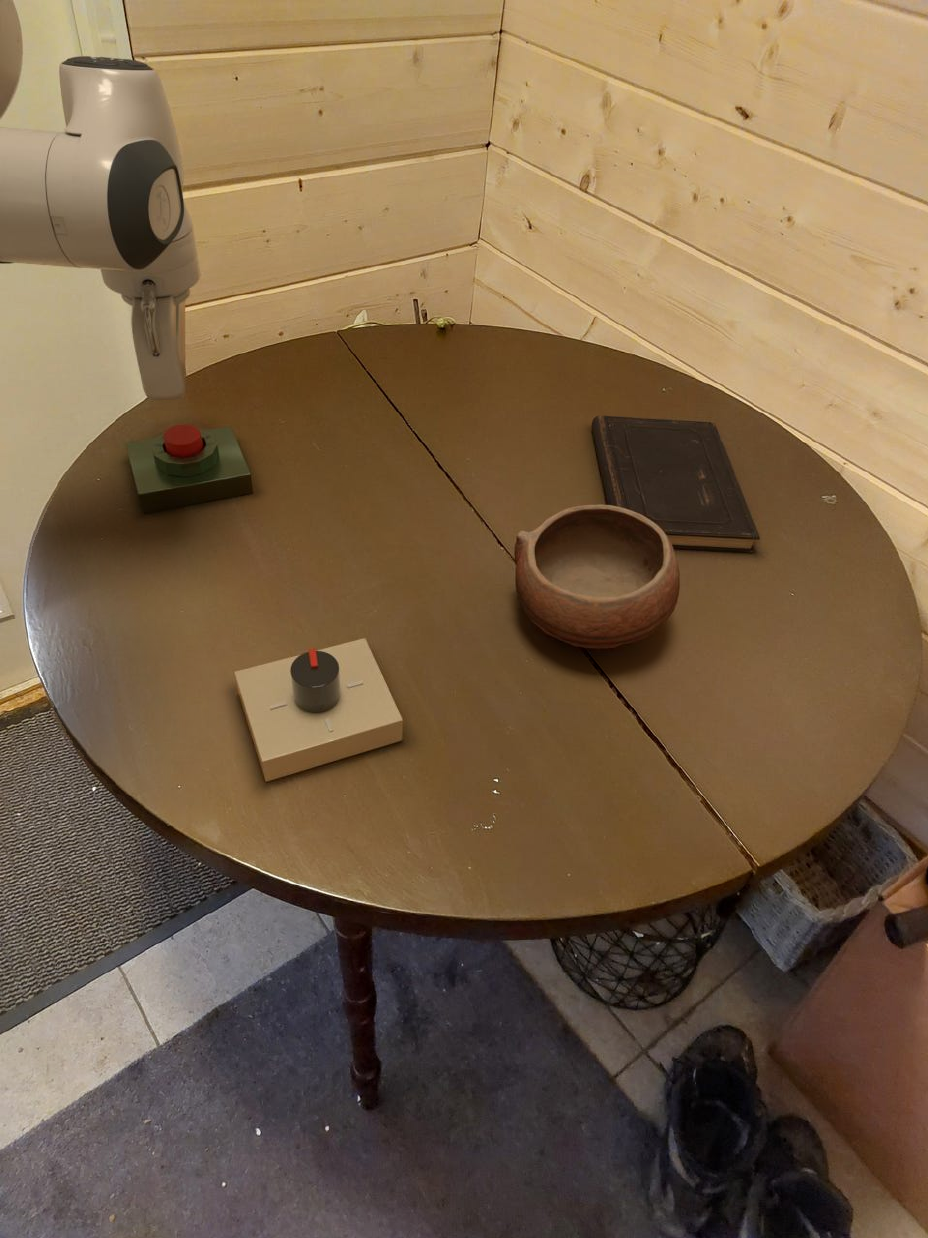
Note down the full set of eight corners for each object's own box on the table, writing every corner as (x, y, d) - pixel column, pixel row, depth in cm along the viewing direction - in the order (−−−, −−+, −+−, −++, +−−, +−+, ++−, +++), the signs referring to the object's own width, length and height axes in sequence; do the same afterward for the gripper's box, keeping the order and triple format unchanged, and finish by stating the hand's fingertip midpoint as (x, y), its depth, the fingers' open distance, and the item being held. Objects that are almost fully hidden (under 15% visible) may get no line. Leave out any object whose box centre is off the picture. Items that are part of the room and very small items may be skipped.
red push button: (169, 460, 90) (166, 447, 89) (163, 440, 93) (160, 427, 92) (206, 454, 92) (204, 441, 90) (199, 434, 94) (197, 421, 93)
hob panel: (265, 782, 68) (261, 760, 66) (238, 693, 74) (233, 670, 72) (402, 740, 72) (403, 718, 70) (365, 659, 78) (365, 636, 76)
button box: (143, 514, 90) (134, 480, 87) (130, 462, 96) (121, 429, 93) (253, 493, 94) (248, 460, 91) (233, 444, 100) (228, 412, 97)
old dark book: (710, 437, 109) (715, 421, 107) (753, 553, 93) (760, 537, 91) (590, 429, 108) (593, 414, 106) (613, 545, 92) (617, 530, 90)
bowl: (489, 576, 87) (499, 500, 80) (623, 553, 91) (644, 480, 84) (544, 688, 77) (560, 613, 70) (691, 657, 81) (721, 584, 74)
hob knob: (343, 709, 70) (342, 681, 67) (295, 716, 69) (292, 688, 66) (337, 674, 73) (335, 645, 70) (291, 680, 72) (287, 651, 69)
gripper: (184, 309, 71) (209, 445, 81) (184, 216, 84) (205, 342, 94) (106, 313, 70) (141, 450, 80) (118, 217, 83) (147, 345, 93)
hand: (176, 390), depth 87 cm, fingers closed
